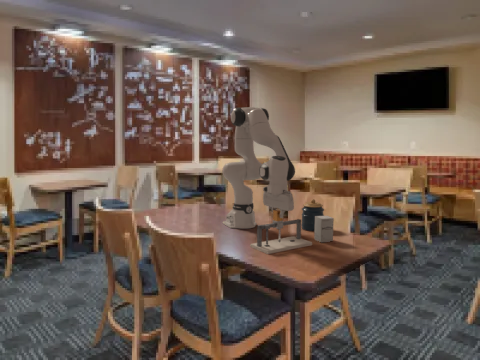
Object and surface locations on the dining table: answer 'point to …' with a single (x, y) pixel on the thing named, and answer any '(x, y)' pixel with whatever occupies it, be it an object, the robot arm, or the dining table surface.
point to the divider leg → (277, 221)
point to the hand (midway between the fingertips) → (277, 216)
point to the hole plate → (284, 243)
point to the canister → (311, 214)
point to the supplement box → (323, 228)
